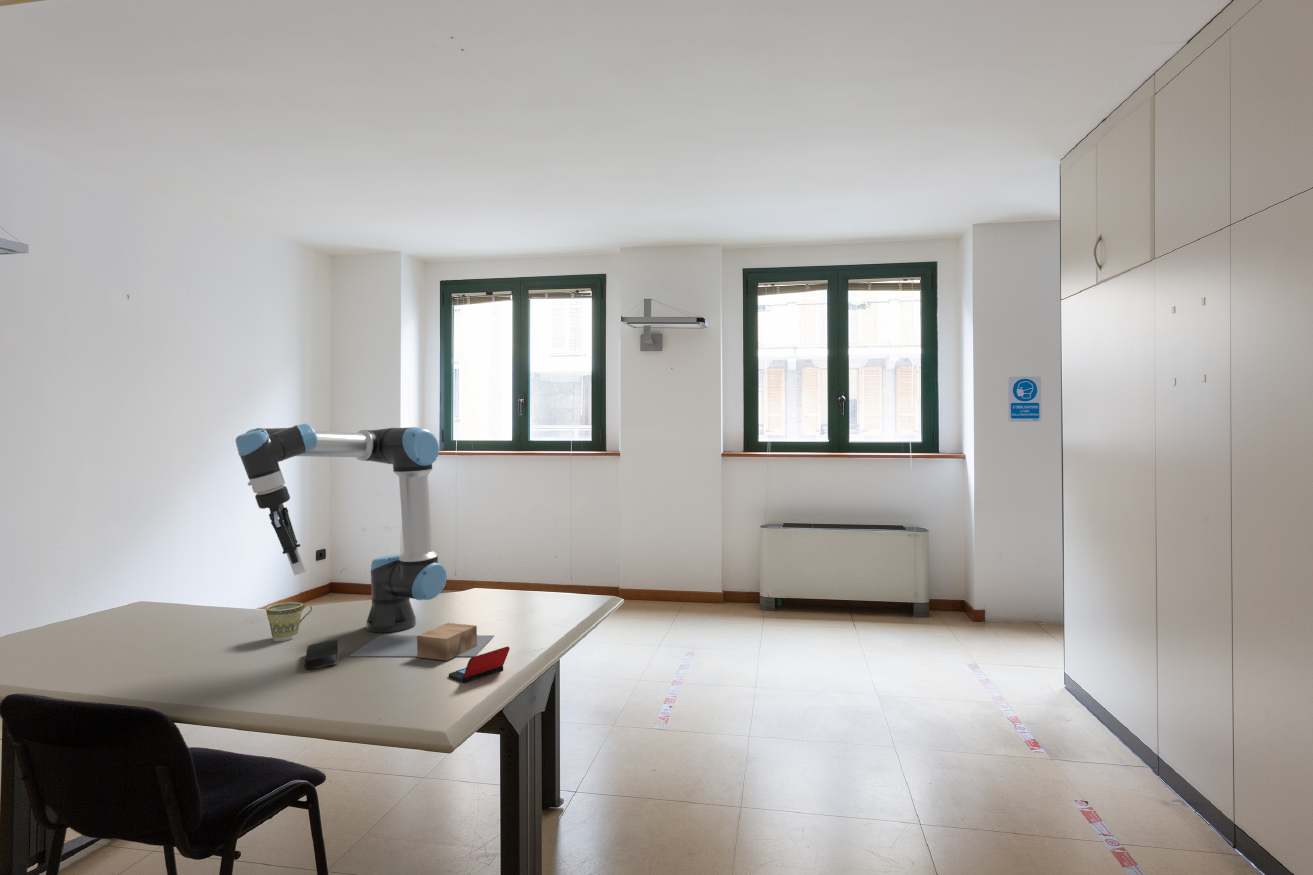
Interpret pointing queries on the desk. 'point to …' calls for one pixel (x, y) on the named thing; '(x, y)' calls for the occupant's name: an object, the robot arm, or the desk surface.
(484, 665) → the handheld game console
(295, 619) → the ceramic cup
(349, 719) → the desk surface
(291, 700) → the desk surface
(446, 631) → the walnut block
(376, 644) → the felt pad
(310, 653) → the black sponge
